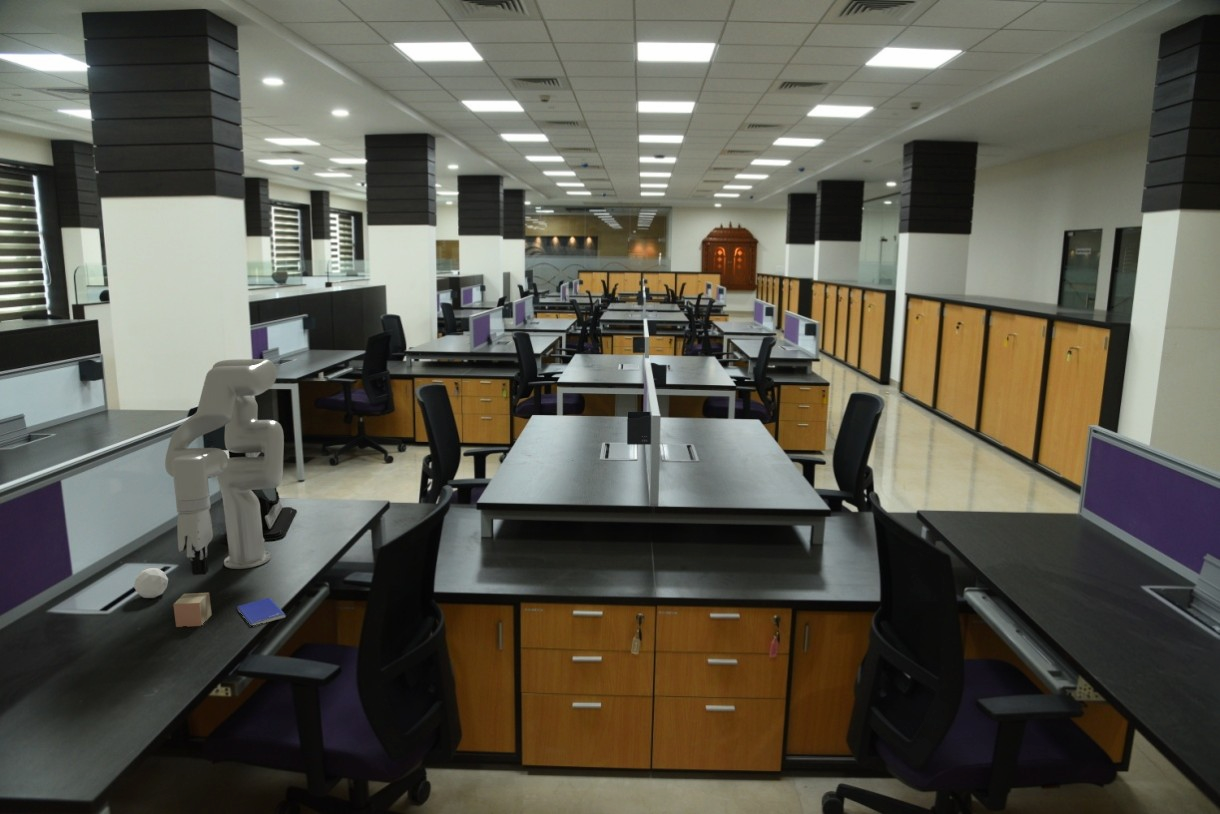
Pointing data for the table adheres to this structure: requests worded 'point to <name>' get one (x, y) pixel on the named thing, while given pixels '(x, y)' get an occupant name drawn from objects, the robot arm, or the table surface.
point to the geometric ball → (151, 583)
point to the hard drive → (261, 611)
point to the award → (269, 509)
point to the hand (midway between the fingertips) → (200, 573)
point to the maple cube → (192, 609)
